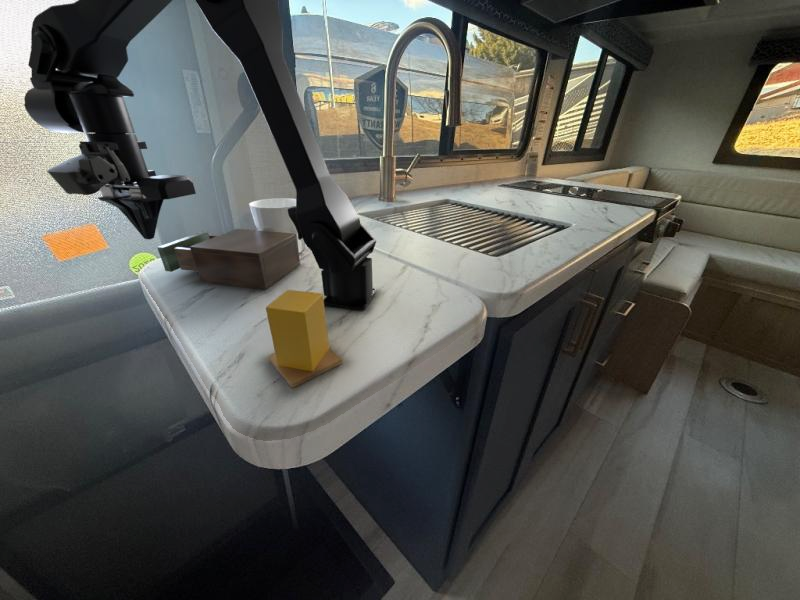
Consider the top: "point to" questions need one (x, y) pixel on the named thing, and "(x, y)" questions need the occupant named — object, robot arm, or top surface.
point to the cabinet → (246, 258)
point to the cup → (275, 217)
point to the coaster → (301, 376)
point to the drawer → (181, 252)
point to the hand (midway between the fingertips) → (149, 238)
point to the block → (298, 329)
